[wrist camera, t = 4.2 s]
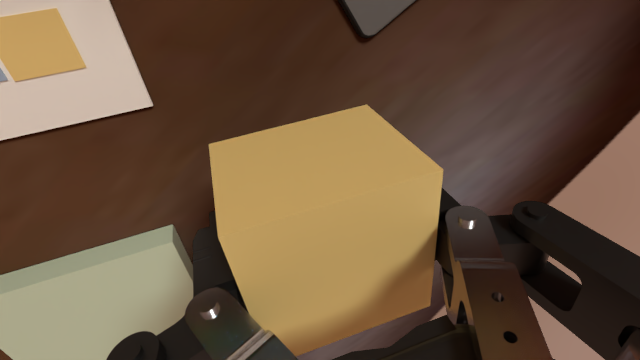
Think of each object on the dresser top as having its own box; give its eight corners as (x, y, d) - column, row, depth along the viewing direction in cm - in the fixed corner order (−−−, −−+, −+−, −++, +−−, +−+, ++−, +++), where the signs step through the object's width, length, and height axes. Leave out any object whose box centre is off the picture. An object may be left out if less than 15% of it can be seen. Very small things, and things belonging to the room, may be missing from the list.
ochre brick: (366, 104, 13) (443, 169, 9) (372, 221, 17) (429, 305, 13) (208, 144, 12) (217, 237, 8) (249, 260, 16) (270, 366, 12)
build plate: (172, 224, 19) (172, 241, 18) (222, 327, 25) (224, 345, 24) (-32, 284, 17) (-48, 308, 16) (72, 381, 23) (67, 404, 22)
